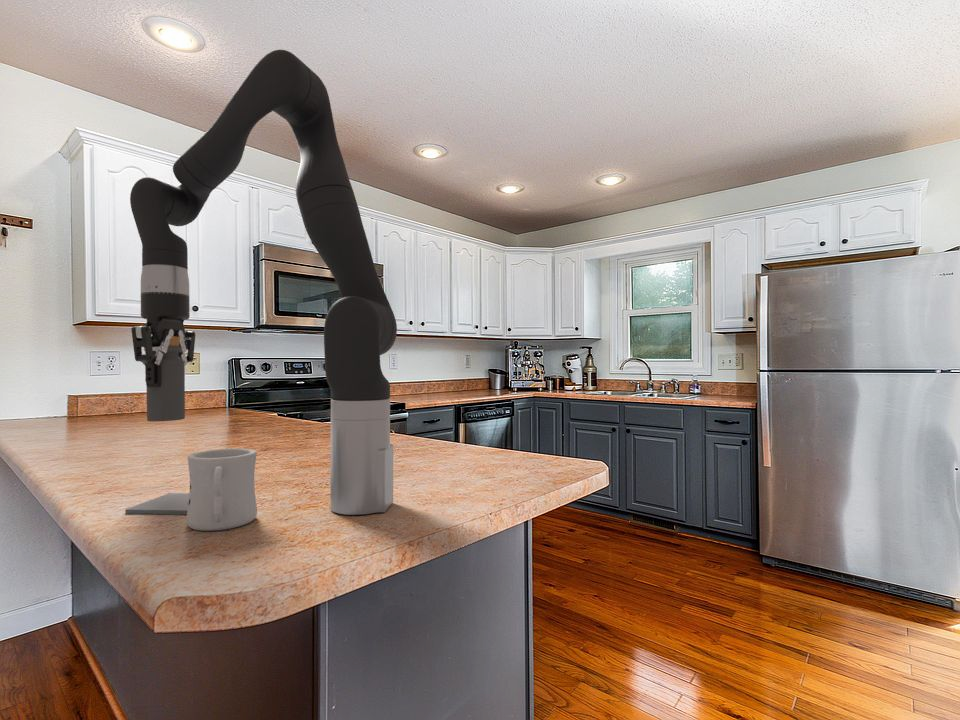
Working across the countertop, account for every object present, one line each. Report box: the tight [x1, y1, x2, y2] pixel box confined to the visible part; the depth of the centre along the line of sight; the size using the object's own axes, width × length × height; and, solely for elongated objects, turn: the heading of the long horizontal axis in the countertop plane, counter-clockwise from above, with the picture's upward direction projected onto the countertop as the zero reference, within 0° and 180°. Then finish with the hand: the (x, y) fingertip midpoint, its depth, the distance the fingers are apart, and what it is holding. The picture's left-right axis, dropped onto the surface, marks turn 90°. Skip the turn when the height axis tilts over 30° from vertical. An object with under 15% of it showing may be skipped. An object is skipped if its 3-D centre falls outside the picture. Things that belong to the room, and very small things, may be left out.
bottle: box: [146, 336, 186, 422], centre depth 92 cm, size 6×6×15 cm
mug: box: [186, 448, 258, 532], centre depth 72 cm, size 12×9×10 cm
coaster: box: [125, 492, 190, 515], centre depth 82 cm, size 10×10×1 cm
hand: (166, 385), depth 92 cm, fingers closed on bottle, 5 cm apart
